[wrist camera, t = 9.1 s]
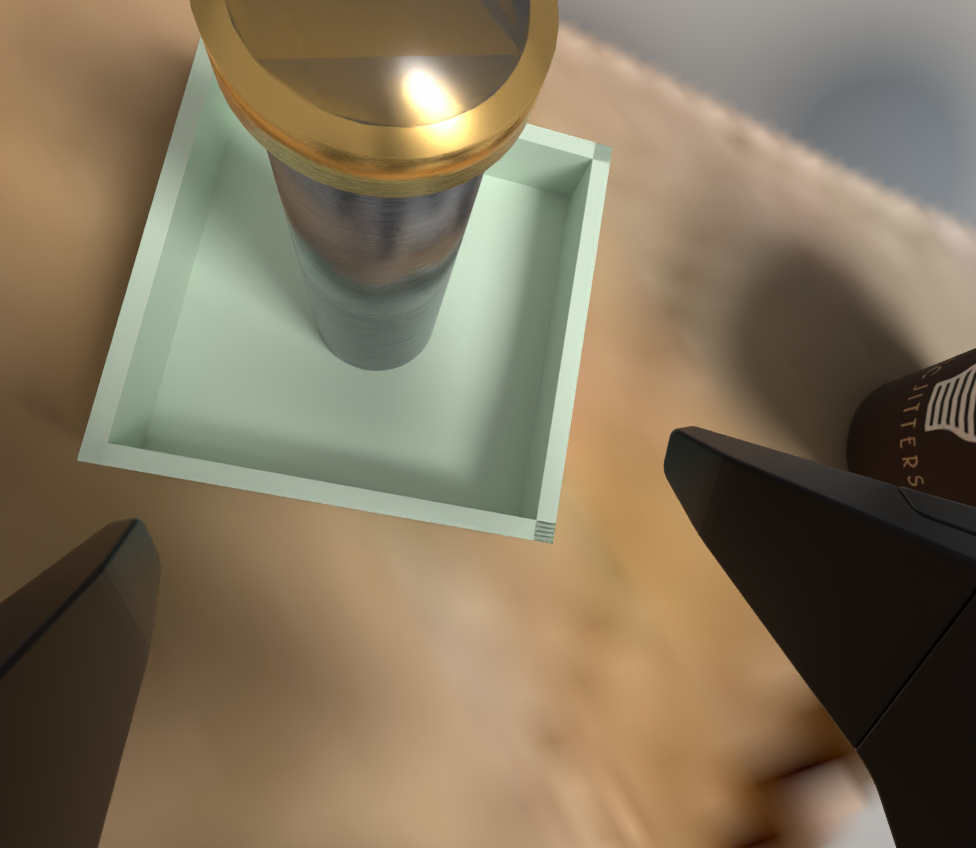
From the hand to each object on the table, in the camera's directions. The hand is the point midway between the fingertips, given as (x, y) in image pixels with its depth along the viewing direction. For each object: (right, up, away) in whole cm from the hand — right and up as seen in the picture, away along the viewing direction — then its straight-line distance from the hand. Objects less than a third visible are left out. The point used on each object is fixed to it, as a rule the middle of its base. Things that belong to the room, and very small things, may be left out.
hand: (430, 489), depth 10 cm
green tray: (-3, +5, +11) cm, 12 cm away
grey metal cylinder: (-3, +5, +10) cm, 12 cm away
